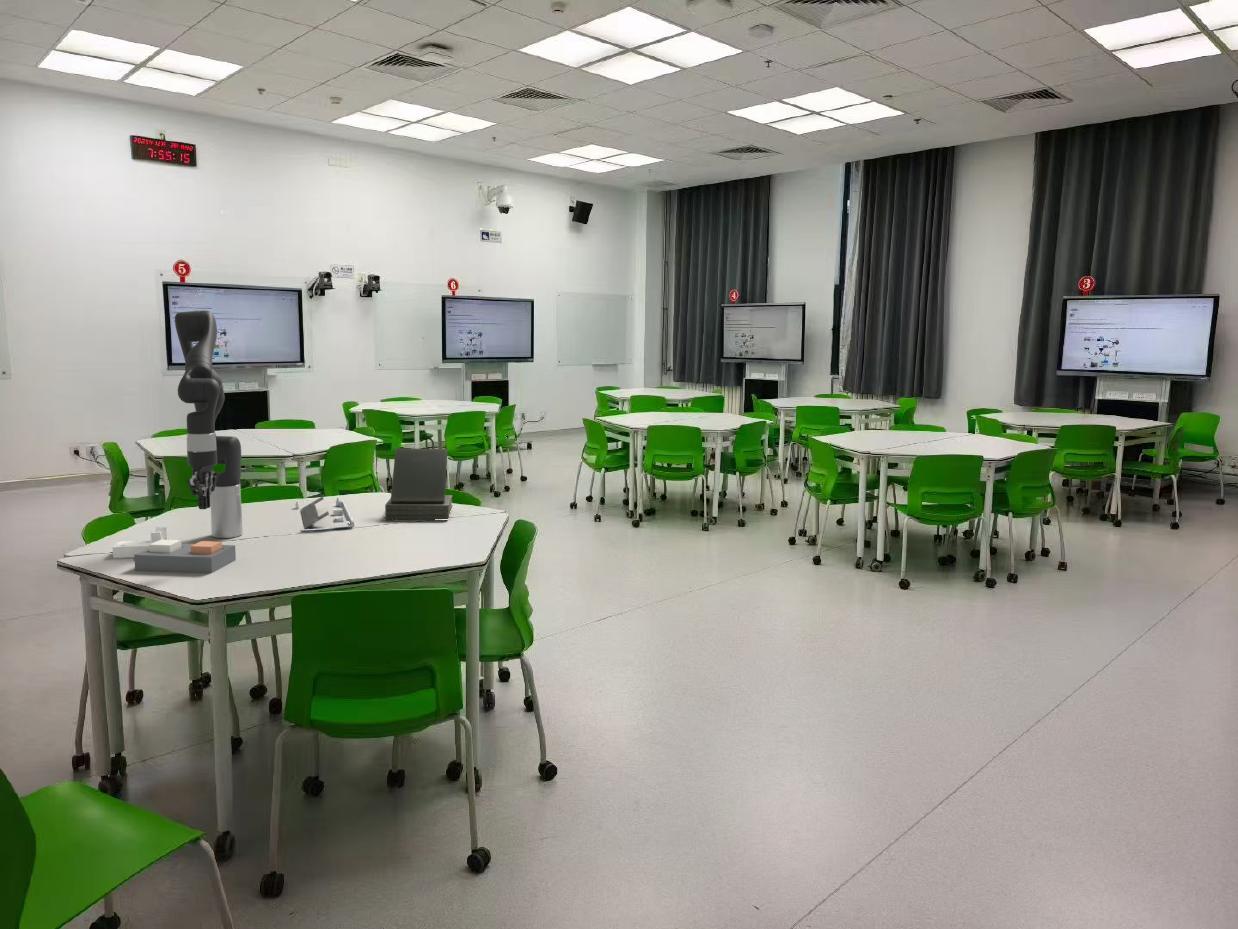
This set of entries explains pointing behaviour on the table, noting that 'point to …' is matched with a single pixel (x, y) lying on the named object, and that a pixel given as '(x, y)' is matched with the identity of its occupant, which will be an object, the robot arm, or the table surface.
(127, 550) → the bracket
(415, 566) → the table surface
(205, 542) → the terracotta key
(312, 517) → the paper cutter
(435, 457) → the upright slab on base
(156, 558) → the key panel
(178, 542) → the off-white key
